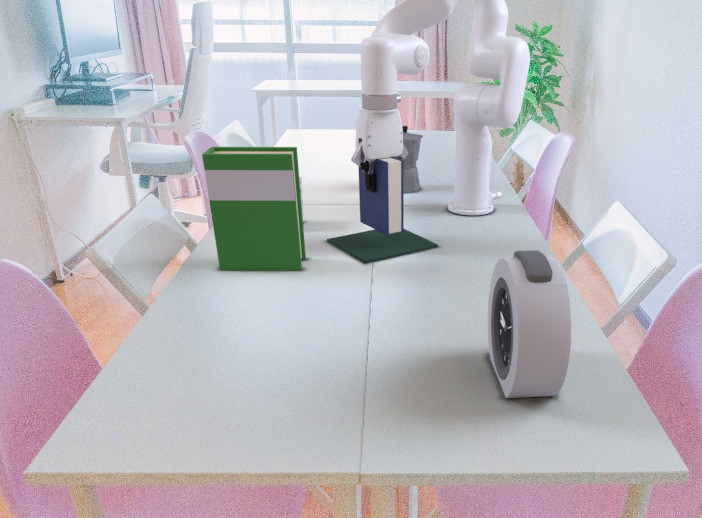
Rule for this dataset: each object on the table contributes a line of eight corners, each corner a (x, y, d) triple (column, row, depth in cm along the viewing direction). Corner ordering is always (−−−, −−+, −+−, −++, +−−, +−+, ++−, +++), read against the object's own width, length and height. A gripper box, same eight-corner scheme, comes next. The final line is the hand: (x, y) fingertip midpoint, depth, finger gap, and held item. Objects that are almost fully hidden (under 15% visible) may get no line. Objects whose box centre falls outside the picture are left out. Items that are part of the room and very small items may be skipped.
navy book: (376, 219, 161) (374, 150, 153) (403, 231, 153) (403, 159, 144) (360, 222, 159) (357, 152, 151) (387, 235, 151) (386, 162, 142)
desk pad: (396, 227, 169) (396, 225, 169) (437, 246, 157) (437, 244, 156) (326, 241, 160) (326, 239, 159) (365, 263, 147) (365, 260, 147)
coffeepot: (411, 182, 208) (412, 121, 198) (431, 188, 202) (432, 125, 192) (372, 190, 200) (371, 126, 190) (391, 197, 194) (391, 131, 184)
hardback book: (305, 258, 150) (296, 146, 137) (301, 270, 143) (291, 154, 131) (227, 258, 150) (211, 146, 137) (220, 270, 143) (202, 154, 131)
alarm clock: (485, 345, 114) (493, 232, 103) (527, 343, 114) (540, 231, 104) (511, 413, 96) (525, 284, 85) (562, 410, 96) (581, 282, 86)
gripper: (402, 98, 148) (402, 181, 158) (336, 103, 140) (340, 191, 150) (421, 102, 143) (420, 188, 153) (354, 108, 135) (357, 198, 145)
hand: (380, 188), depth 151 cm, fingers closed on navy book, 4 cm apart
